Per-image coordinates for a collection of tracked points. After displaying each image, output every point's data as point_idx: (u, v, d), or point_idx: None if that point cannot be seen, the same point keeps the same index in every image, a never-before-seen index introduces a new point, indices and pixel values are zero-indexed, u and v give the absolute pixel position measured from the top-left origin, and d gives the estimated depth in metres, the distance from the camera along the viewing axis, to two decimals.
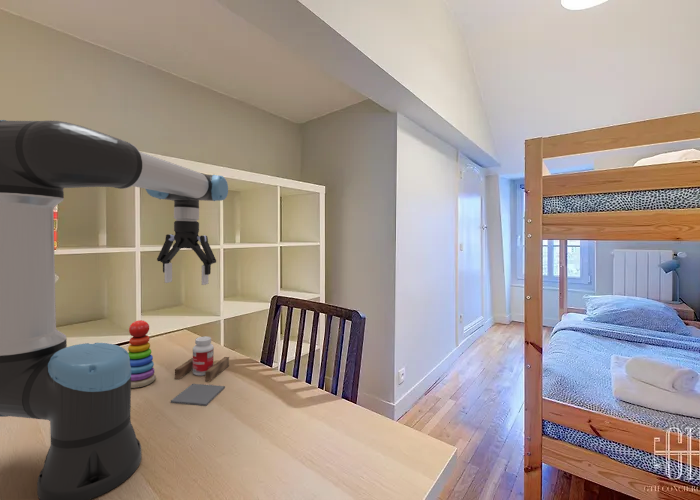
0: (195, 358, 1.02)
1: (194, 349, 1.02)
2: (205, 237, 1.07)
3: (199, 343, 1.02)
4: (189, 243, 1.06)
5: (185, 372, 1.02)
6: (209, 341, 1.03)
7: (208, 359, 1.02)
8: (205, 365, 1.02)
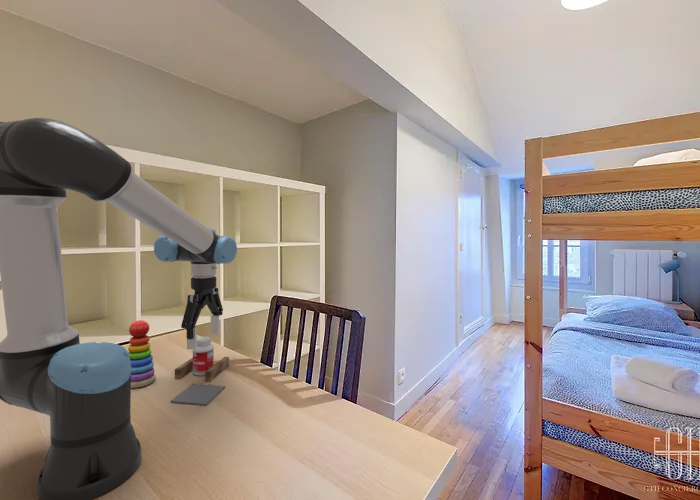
0: (195, 358, 1.02)
1: (194, 349, 1.02)
2: (191, 297, 0.97)
3: (199, 343, 1.02)
4: None
5: (185, 372, 1.02)
6: (209, 341, 1.03)
7: (208, 359, 1.02)
8: (205, 365, 1.02)
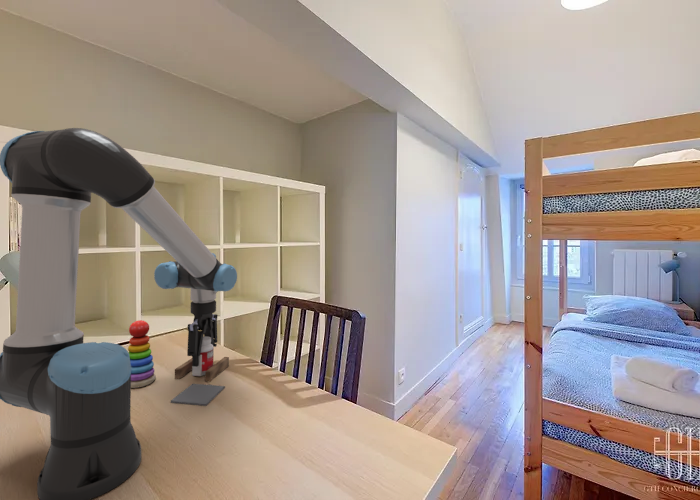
0: None
1: None
2: (191, 327, 0.97)
3: None
4: None
5: (185, 372, 1.02)
6: (209, 341, 1.03)
7: (208, 359, 1.02)
8: (205, 365, 1.02)
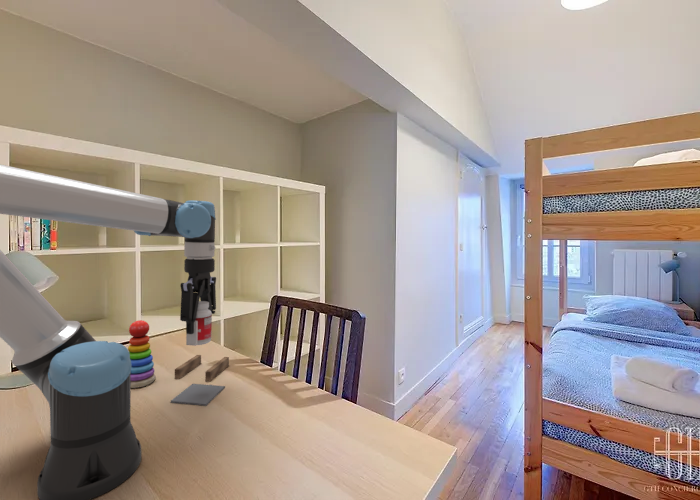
0: None
1: None
2: (185, 286, 0.82)
3: None
4: None
5: (185, 372, 1.02)
6: (206, 305, 0.88)
7: (205, 326, 0.87)
8: (201, 333, 0.87)
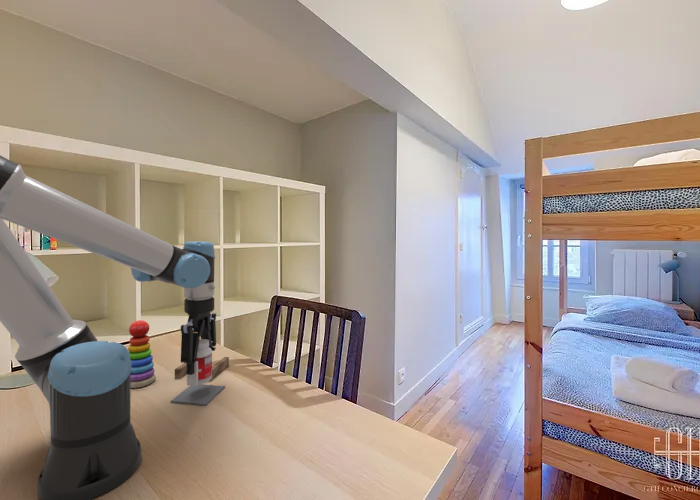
0: None
1: None
2: (185, 328, 0.82)
3: None
4: None
5: (185, 372, 1.02)
6: (207, 344, 0.89)
7: (205, 366, 0.88)
8: (202, 373, 0.87)
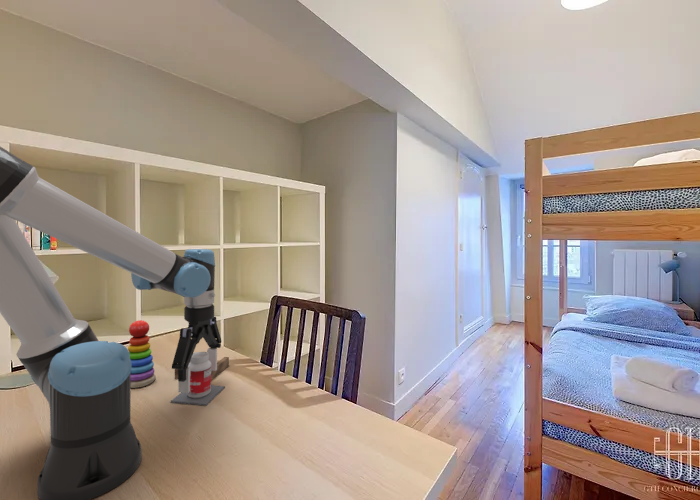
0: None
1: None
2: (184, 331, 0.82)
3: (194, 360, 0.87)
4: None
5: None
6: (206, 357, 0.89)
7: (204, 379, 0.88)
8: (201, 386, 0.87)
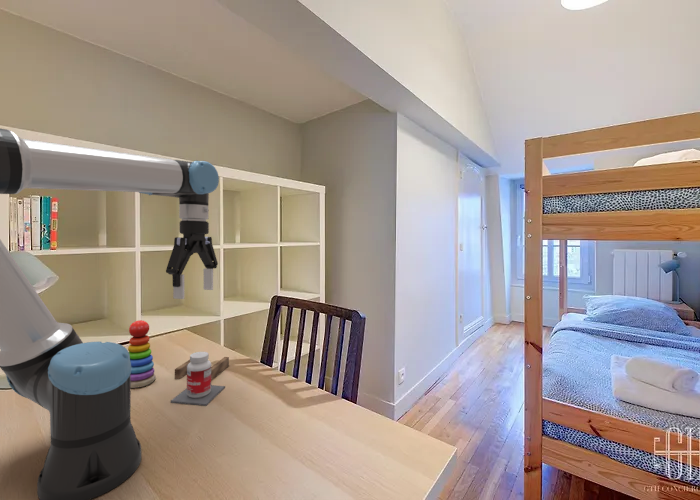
0: (189, 378, 0.87)
1: (188, 367, 0.87)
2: (178, 239, 0.85)
3: (194, 360, 0.87)
4: None
5: (185, 372, 1.02)
6: (206, 357, 0.89)
7: (204, 379, 0.88)
8: (201, 386, 0.87)
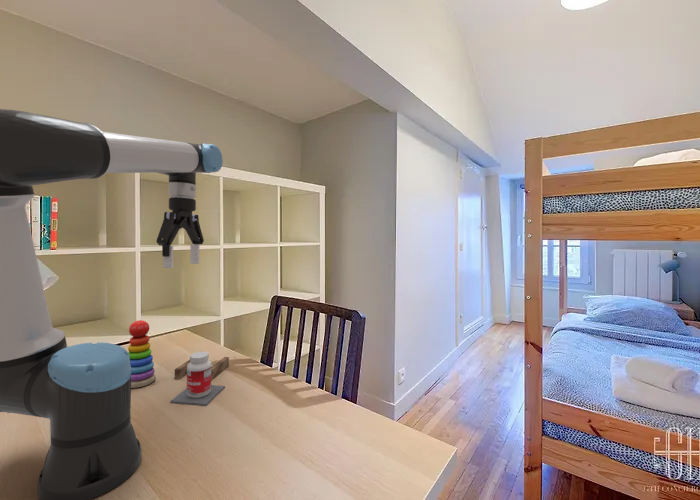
0: (189, 378, 0.87)
1: (188, 367, 0.87)
2: (168, 213, 0.94)
3: (194, 360, 0.87)
4: None
5: (185, 372, 1.02)
6: (206, 357, 0.89)
7: (204, 379, 0.88)
8: (201, 386, 0.87)
